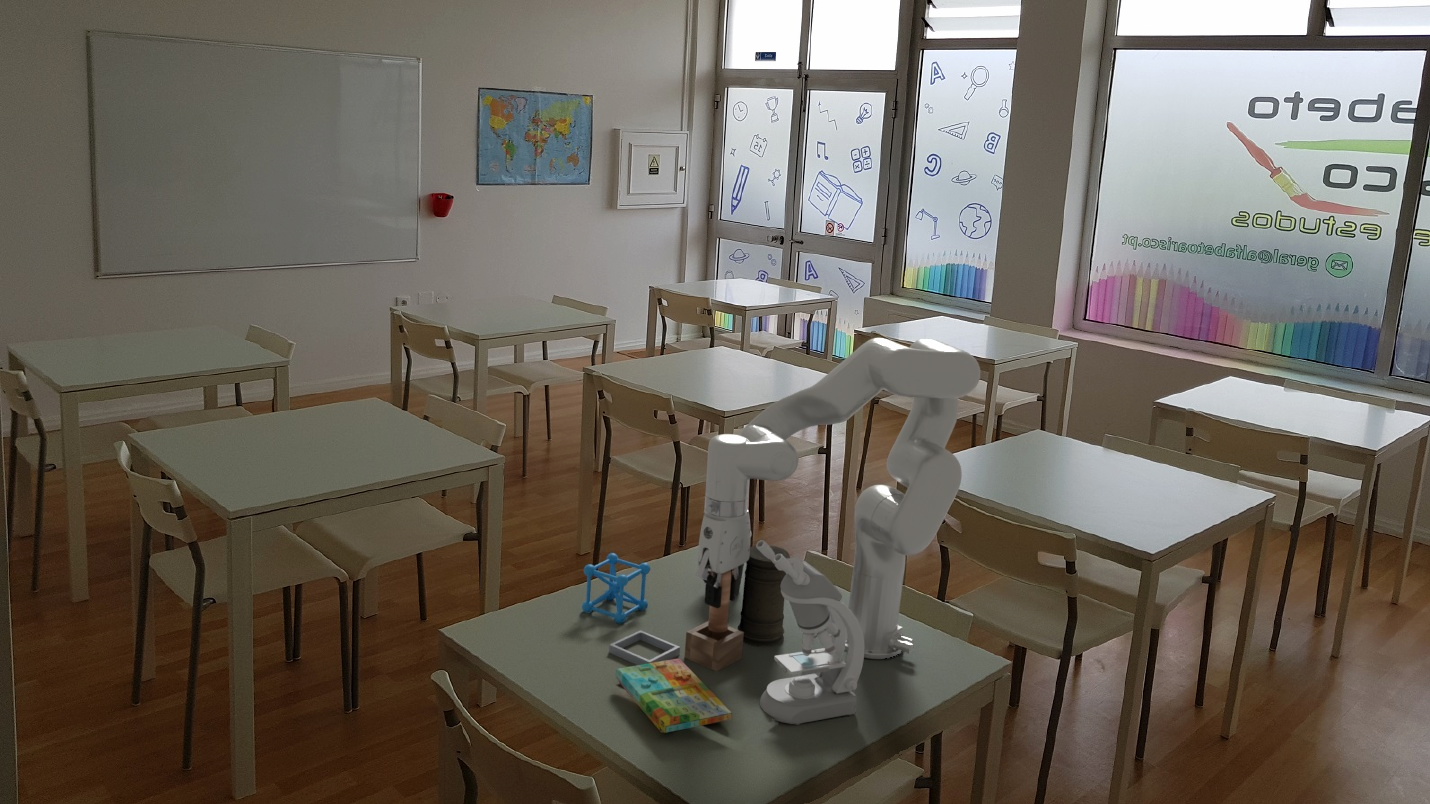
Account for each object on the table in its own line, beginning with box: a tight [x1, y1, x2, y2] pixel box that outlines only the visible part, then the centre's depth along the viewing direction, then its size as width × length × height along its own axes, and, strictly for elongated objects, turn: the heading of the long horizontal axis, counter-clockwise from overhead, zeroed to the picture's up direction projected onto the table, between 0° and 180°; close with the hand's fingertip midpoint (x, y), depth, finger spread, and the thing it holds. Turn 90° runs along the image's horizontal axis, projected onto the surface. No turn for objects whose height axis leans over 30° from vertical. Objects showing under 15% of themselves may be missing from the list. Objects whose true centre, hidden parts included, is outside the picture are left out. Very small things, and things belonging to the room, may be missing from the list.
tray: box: [608, 629, 681, 666], centre depth 204 cm, size 10×8×2 cm
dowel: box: [708, 570, 731, 633], centre depth 202 cm, size 4×4×11 cm
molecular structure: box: [581, 552, 651, 624], centre depth 222 cm, size 10×10×10 cm
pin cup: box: [684, 620, 744, 672], centre depth 204 cm, size 7×7×6 cm
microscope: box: [755, 539, 865, 726], centre depth 187 cm, size 11×19×30 cm, turn 116°
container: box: [737, 544, 791, 648], centre depth 213 cm, size 9×9×18 cm
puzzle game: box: [615, 658, 733, 734], centre depth 187 cm, size 12×5×20 cm
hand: (719, 601), depth 202 cm, fingers closed on dowel, 3 cm apart
